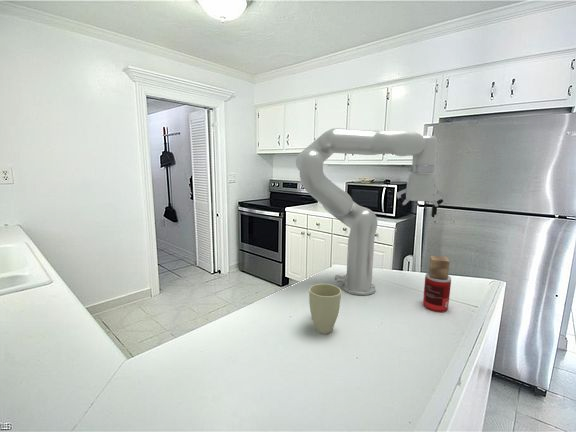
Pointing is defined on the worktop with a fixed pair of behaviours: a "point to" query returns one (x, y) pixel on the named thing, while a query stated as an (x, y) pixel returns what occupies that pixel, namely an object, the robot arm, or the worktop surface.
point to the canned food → (436, 293)
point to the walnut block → (439, 267)
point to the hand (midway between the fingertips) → (418, 215)
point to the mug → (324, 306)
